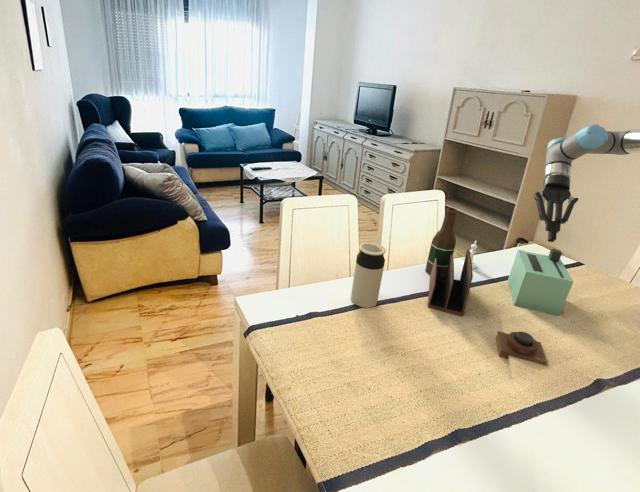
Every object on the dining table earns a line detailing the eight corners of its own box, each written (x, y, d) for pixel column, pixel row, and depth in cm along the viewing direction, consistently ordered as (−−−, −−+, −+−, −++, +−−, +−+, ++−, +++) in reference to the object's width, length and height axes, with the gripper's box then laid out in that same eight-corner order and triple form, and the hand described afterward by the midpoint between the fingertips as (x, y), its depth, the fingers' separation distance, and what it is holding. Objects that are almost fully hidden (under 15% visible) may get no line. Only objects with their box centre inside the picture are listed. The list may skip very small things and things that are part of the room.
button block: (538, 348, 100) (542, 336, 99) (544, 369, 94) (549, 356, 92) (495, 337, 104) (499, 325, 102) (498, 356, 97) (503, 344, 95)
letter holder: (460, 284, 129) (471, 246, 123) (463, 317, 112) (475, 275, 106) (429, 276, 132) (438, 239, 126) (427, 307, 115) (437, 266, 109)
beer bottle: (426, 277, 132) (442, 212, 122) (423, 266, 139) (437, 203, 129) (450, 280, 131) (467, 214, 121) (445, 268, 138) (461, 206, 128)
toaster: (548, 289, 128) (560, 257, 123) (559, 316, 115) (574, 281, 110) (507, 280, 132) (518, 249, 127) (514, 305, 119) (526, 271, 114)
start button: (529, 339, 98) (531, 333, 97) (532, 348, 95) (534, 342, 94) (513, 335, 99) (516, 329, 99) (516, 343, 96) (518, 338, 96)
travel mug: (366, 312, 111) (375, 257, 104) (345, 299, 117) (352, 246, 110) (382, 302, 116) (392, 249, 109) (361, 290, 122) (369, 239, 114)
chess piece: (459, 264, 141) (466, 240, 137) (464, 260, 145) (471, 236, 141) (473, 269, 138) (480, 245, 134) (478, 265, 142) (485, 241, 138)
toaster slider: (556, 258, 122) (560, 250, 121) (558, 261, 120) (562, 253, 119) (548, 256, 123) (551, 248, 122) (549, 260, 121) (553, 251, 120)
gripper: (574, 187, 135) (570, 248, 128) (532, 181, 140) (525, 240, 132) (584, 176, 129) (580, 240, 121) (539, 170, 133) (533, 231, 125)
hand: (551, 240), depth 127 cm, fingers closed
